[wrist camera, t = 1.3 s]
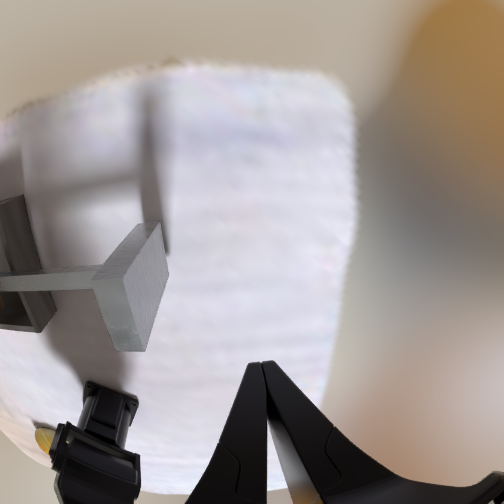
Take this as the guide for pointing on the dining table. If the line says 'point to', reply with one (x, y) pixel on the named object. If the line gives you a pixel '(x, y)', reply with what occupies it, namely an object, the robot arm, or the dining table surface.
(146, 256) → the slider
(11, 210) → the tunnel
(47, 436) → the bread roll
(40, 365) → the dining table surface
